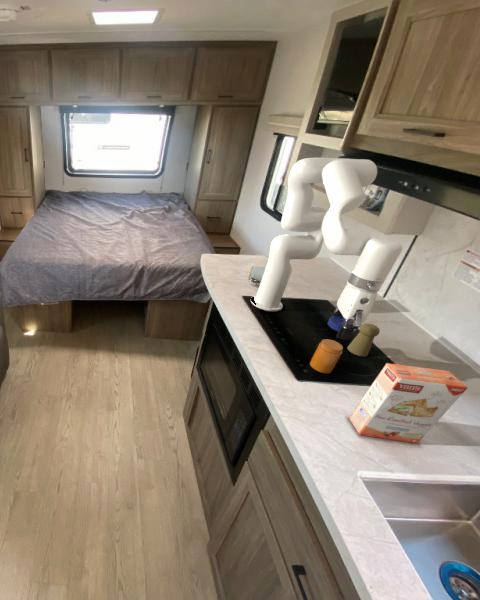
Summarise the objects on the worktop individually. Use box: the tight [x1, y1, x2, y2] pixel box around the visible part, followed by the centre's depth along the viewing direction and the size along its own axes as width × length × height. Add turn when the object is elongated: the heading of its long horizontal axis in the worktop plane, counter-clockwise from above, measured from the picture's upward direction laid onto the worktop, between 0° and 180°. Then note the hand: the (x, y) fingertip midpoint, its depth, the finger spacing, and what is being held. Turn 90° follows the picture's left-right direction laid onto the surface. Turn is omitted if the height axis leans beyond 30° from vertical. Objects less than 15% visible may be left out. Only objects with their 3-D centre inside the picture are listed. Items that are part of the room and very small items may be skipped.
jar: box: [309, 338, 344, 374], centre depth 107 cm, size 6×6×10 cm
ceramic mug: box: [248, 265, 266, 287], centre depth 161 cm, size 11×8×8 cm
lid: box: [327, 315, 355, 334], centre depth 101 cm, size 7×7×2 cm
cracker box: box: [348, 362, 468, 445], centre depth 83 cm, size 14×6×21 cm, turn 80°
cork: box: [346, 322, 381, 357], centre depth 115 cm, size 6×6×11 cm
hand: (338, 331), depth 103 cm, fingers closed on lid, 7 cm apart
